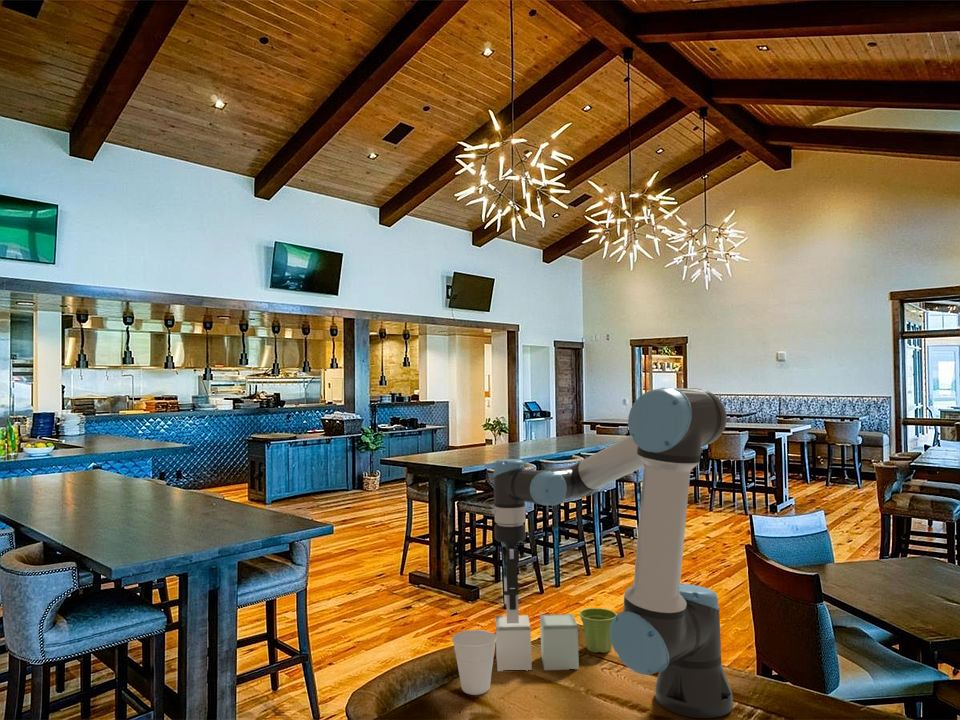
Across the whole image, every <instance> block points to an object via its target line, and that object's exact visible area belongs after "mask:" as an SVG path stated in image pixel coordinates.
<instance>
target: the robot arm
mask: <svg viewBox="0 0 960 720" xmlns="http://www.w3.org/2000/svg"><path fill="white" fill-rule="evenodd" d="M629 410H630V411H629V413H628V418H627V428H628V432H629V435H628V436H626V437H625V438H622V439H621V440H619V441H617V442H615V443H613V444H611V445H609V446H607V447H605V448H603V449H601V450H599V451H598V452H596V453H594V454H592V455H590V456H588V457H586V458H584V459H583V460H581V461H579V462H577V463H575V464H573V465H570V466H566V467H560V468H551V469H543V470H534V469H526V467H525V461H524V460H522V459H520V458H503V459H502V458H501V459H498V460H496V461H495V462H494V464H493V476H492V478H493V501H494V502H493V504H494V506H493V507H494V509H492V510H491V514H494V522H495V525H494V527H493V528H494V540H496V541H497V542H499V543H503V546H501V556H502V560H503V575H504V576H503V587H504V589H503V590H504V591H503V597H504V599H503V600H504V605H506V616H507V623H519V615H520V614H519V594H520V590H519V580H518V579H519V577H518V573H519V572H518V567H519V555H520V551H519V549H520V548H519V546H516V543H521V542H523V541H525V540H526V525H525V522H526V502H527V503H530V504H536V505H537V504H538V505H542V506H558V505H560V504H561V502H562V501H565V500H569V499H576V498H584V497H588V496H591V495H594V494H595V493H596V492H597V490H598V489H599V488H601V487H604V486H606V485H608V484H610V483H612V482H615V481H616V480H619V479H621V478H623V477H625V476H627V475H629V474H631V473H634V472H636V471H639V470H640V469H643V471H642V473H643V474H642V483H641V494H640V508H639V518H638V529H637V540H636V541H637V542H636V553H635V564H634V574H633V575H634V577H633V584H632V585H630V586H629V587H628V588H626V590H625V591H624V597H623V609H622V611H620V612H618V613H616V614H617V615H616V616H615V617H614V619H613V620H612V622H611V625H610V639H611V643H612V648H613V650H614V652H615V653H616V654H617V655H618V658H619V660H620V661H621V662H622V664H624V665H625V666H626V667H627V668H628V669H629V670H631V671H633V672H634V673H636V674H639V675H644V676H645V675H646V676H649V675H654V674H655V673H656V674H657V673H658V674H657V678H656V682H655V687H654V688H655V689H654V692H655V700H656V702H657V703H658V704H659V705H660V706H661V707H662V708H663V709H665V710H667V711H669V712H671V713H673V714H676V715H680V716H683V717H688V718H693V719H695V718H696V719H712V718H720V717H723V716H726V715H728V714H729V713H730V712H732V710H733V708H734V701H733V698H734V697H733V696H734V695H733V693H732V689H731V686H730V684H729V681H728V678H727V676H726V672H725V670H724V667H723V663H722V641H721V639H722V638H721V621H720V620H721V619H720V611H721V608H720V606H719V597H718V594H717V593H716V592H715V591H713V590H712V589H711V588H708V587H704V586H701V585H700V586H699V585H697V584H689V583H681V578H682V577H681V576H682V565H683V557H684V556H683V554H684V546H685V545H684V544H685V533H686V523H687V522H686V521H687V511H688V501H689V500H688V499H689V492H690V480H691V471H692V470H693V469H694V468H696V467H697V466H698V465H699V464H700V462H701V452H702V447H705V446H709V445H710V444H713V443H714V442H715V441H717V440H718V439H719V438H720V437H721V436H722V434H723V433H724V431H725V429H726V426H727V422H728V421H727V420H728V419H727V411H726V408H725V406H724V404H723V402H722V401H721V400H720V399H719V397H718V396H717V395H715V394H714V393H712V392H711V391H709V390H706V389H703V388H697V387H695V388H693V387H690V388H683V387H680V388H679V387H660V388H656V389H651V390H648V391H646V392H644V393H643V394H642V395H640V396H639V397H637V399H635V401H634V402H633V404H632V406H631V407H630V409H629Z"/></svg>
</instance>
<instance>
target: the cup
mask: <svg viewBox="0 0 960 720" xmlns="http://www.w3.org/2000/svg"><path fill="white" fill-rule="evenodd" d="M496 640H497V636H496V633H494V632H492V631H490V630H484V629H468V630H462V631H459V632H457V633H455V634H454V635H453V636H452V639H451V641H452V643H453V648H454V654H455V658H456V664H457V669H458V674H459V675H458V676H459V681H460V687H461V690H462V691H463V692H464V693H465V694H467V695H472V696H479V695H483V694H486V693H487V692H488V691H489V689H490V687H491V681H492V680H491V679H492V672H493V671H492V670H493V664H494V658H495V657H494V656H495V649H496Z"/></svg>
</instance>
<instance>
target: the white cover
mask: <svg viewBox="0 0 960 720" xmlns="http://www.w3.org/2000/svg"><path fill="white" fill-rule="evenodd" d="M494 617H495V635H496V636H497V640H496V643H495V649H496V652H495V653H496V654H495V656H496V669H497V672H504V671H503V670H526V671H528V670H533V665H532V664H533V663H532V635H531V633H532V631H531V624H530V623H531V622H530V618H529V615H527V614H525V615H523V614H522V615H520V614H519V623H507V615H495V616H494ZM526 671H525V672H526Z"/></svg>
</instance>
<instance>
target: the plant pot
mask: <svg viewBox="0 0 960 720" xmlns="http://www.w3.org/2000/svg"><path fill="white" fill-rule="evenodd" d="M617 614H618V613H617V612H615V611H614V610H612V609H607V608H603V607H602V608H599V607H593V608H592V607H590V608H584V609H581V610H580V611H579V613H578V615H579V617H580V618H581V622H582V626H583V633H584V638H585V639H584V640H585V645H586V649H587V651H590V652H591V653H595V654H596V653H602V654H605V653H610V651H612V648H613V646H612V643H611V639H610V625H611V622H612V620H613V619H614V617H615V616H616V615H617Z"/></svg>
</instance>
